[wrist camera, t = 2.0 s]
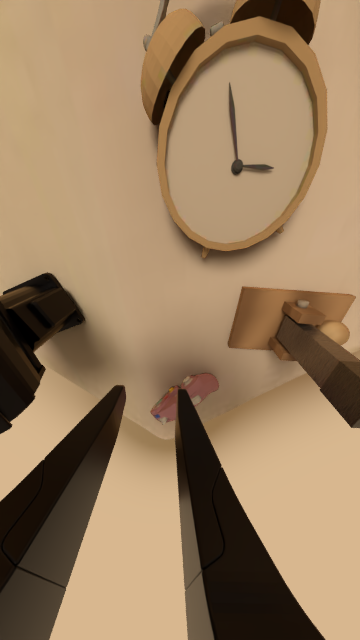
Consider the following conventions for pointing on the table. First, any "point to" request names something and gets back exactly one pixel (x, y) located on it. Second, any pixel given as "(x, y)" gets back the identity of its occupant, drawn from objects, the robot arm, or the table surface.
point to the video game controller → (196, 389)
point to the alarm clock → (235, 118)
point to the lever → (325, 366)
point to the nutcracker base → (274, 304)
